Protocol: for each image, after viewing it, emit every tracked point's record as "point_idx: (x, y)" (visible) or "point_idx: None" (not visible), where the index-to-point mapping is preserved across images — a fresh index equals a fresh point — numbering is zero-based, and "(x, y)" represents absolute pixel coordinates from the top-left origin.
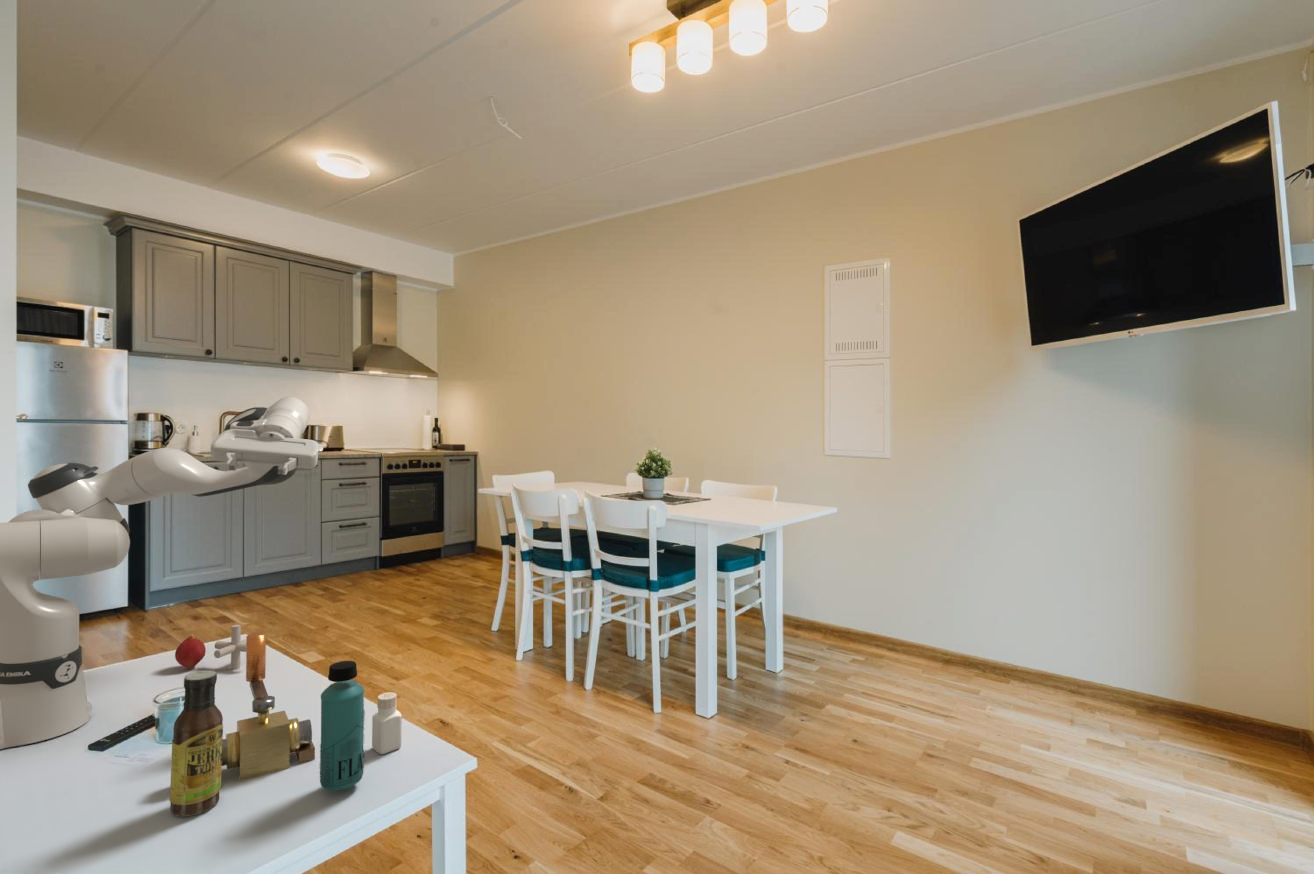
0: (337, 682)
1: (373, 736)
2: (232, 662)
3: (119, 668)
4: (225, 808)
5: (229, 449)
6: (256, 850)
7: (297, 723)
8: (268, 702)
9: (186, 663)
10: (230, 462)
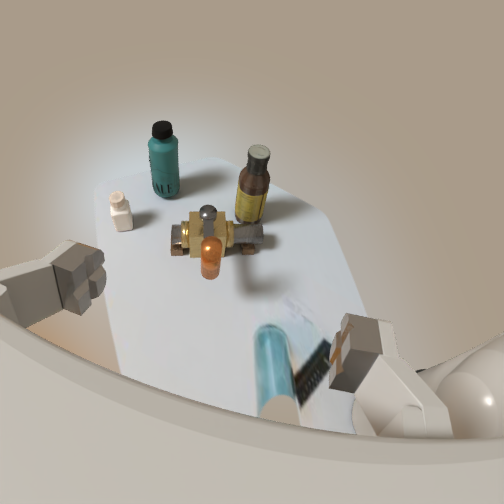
0: (164, 144)
1: (131, 219)
2: None
3: None
4: (231, 206)
5: (460, 439)
6: (217, 165)
7: (182, 222)
8: (205, 205)
9: None
10: (376, 325)
